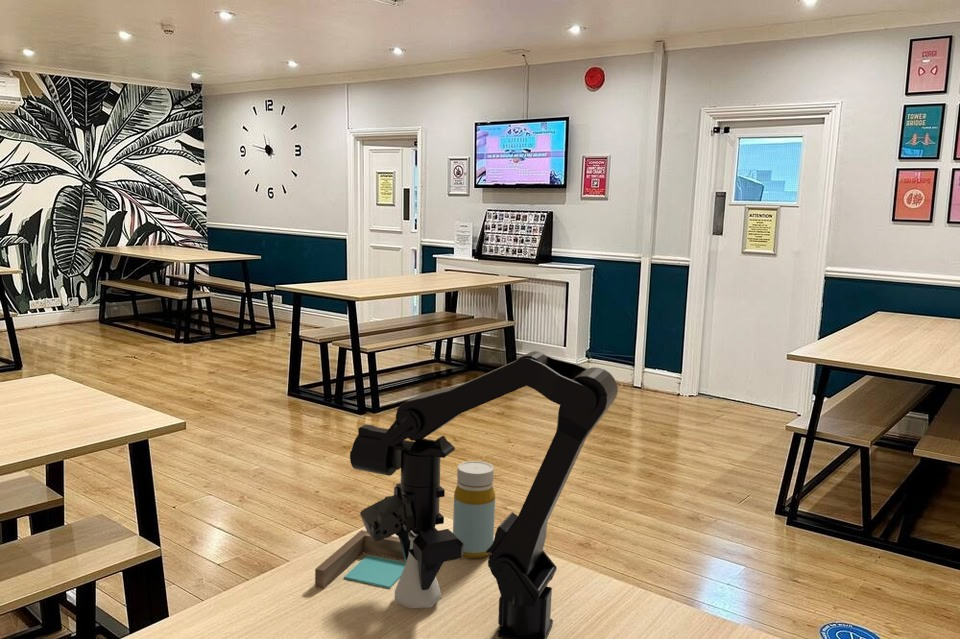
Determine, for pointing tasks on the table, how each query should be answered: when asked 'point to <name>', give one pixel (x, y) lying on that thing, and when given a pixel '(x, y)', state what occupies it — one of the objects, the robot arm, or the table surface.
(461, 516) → the bottle
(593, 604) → the table surface
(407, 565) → the flask
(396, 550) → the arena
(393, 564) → the pad
